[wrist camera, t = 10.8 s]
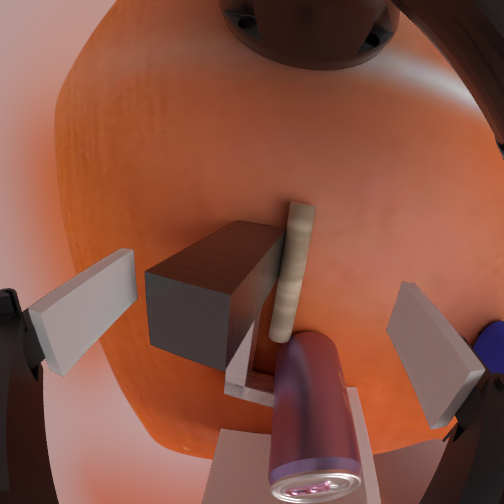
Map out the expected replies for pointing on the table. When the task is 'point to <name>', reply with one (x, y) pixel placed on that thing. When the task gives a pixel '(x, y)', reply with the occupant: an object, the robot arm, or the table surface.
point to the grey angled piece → (218, 303)
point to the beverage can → (312, 424)
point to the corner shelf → (257, 466)
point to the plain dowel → (291, 270)
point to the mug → (492, 347)
